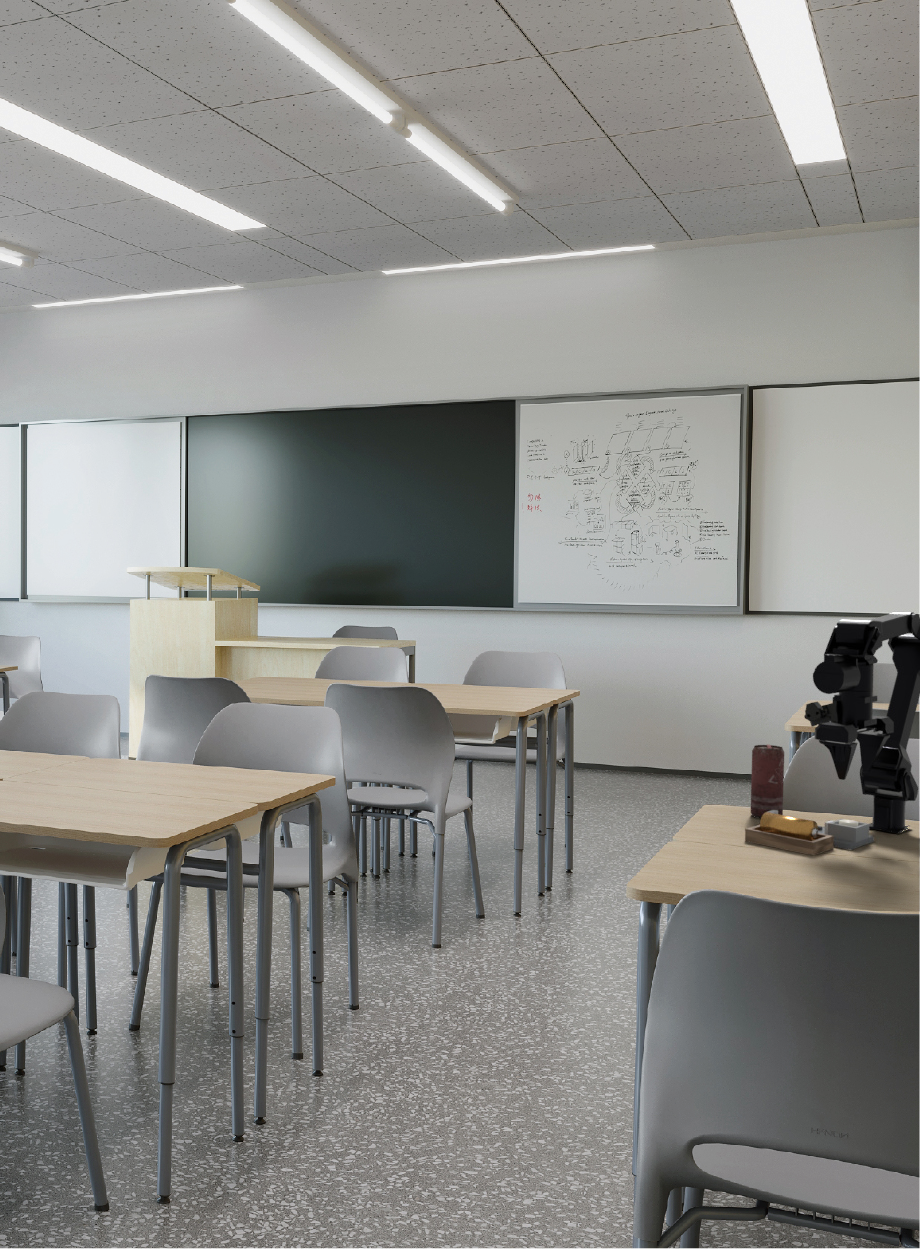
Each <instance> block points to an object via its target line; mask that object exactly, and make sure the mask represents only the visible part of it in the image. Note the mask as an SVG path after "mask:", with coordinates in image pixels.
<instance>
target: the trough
mask: <svg viewBox="0 0 920 1249" xmlns="http://www.w3.org/2000/svg"><path fill="white" fill-rule="evenodd" d="M744 832H745V834H744V841H745V842H747V843H753V844H757V845H762V846H767V847H771V848H776V849H781V850H786V851H791V852H795V853H801V854H805V855H809V856H816V855H818V854H821V853H825V852H827V851H829V850H832V849H834V846H833V839H834V836H831V835H826V834H821V833H818V836H817V839H816V840H813V841H809V840H804V839H799V838H794V837H789V836H784V835H779V834H774V833H769V832H764V831H761V830H760V824H758V825H754V826H750V827H747V828H745V830H744Z"/></svg>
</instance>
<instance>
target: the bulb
mask: <svg viewBox="0 0 920 1249" xmlns="http://www.w3.org/2000/svg"><path fill="white" fill-rule="evenodd" d="M838 820H839V819H838ZM858 822H859V821H857V820H852V819H845V820H839V824H840V825H845V826H851V827H857V826H858Z"/></svg>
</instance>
